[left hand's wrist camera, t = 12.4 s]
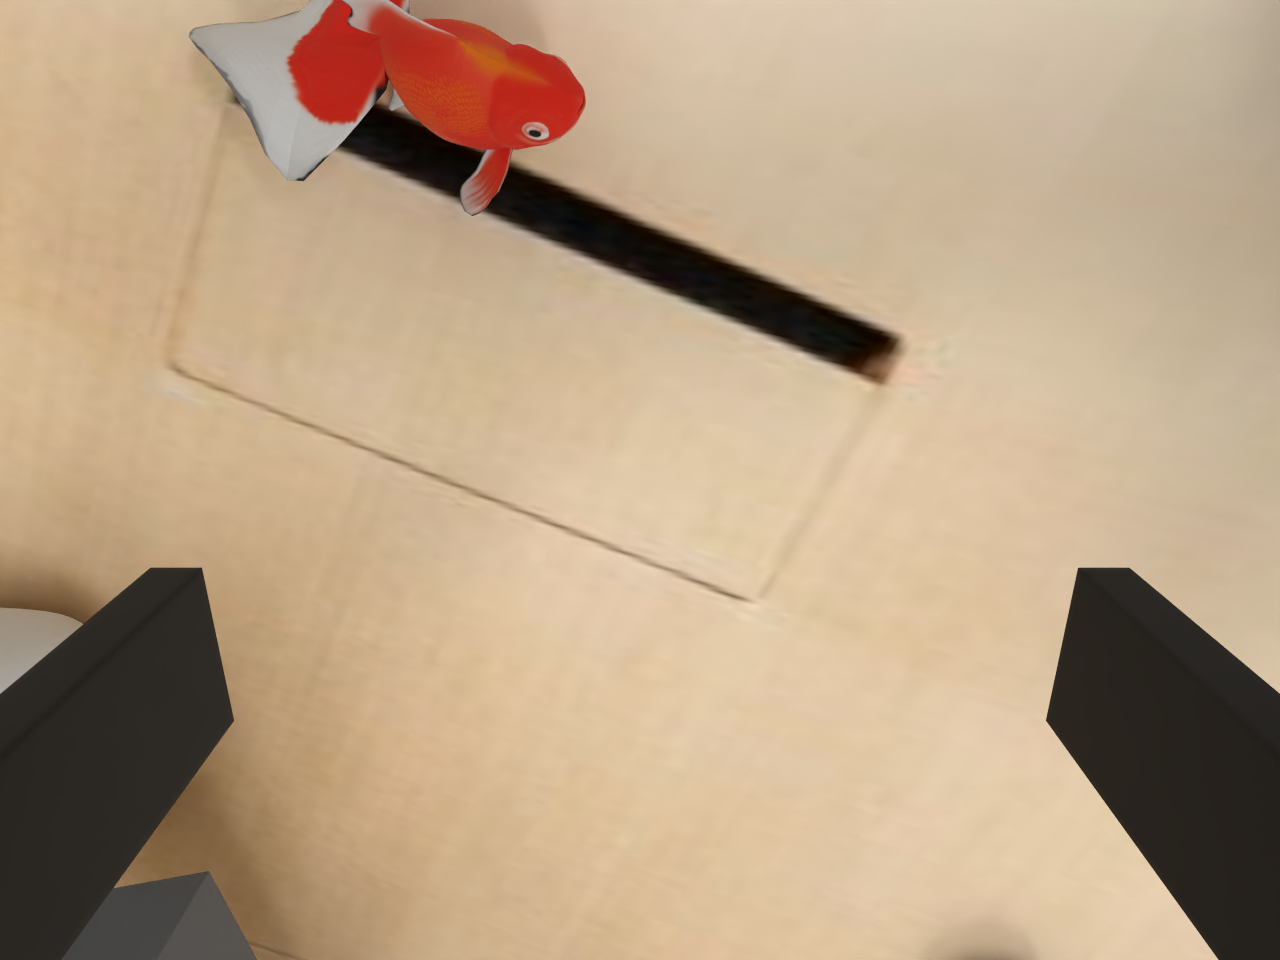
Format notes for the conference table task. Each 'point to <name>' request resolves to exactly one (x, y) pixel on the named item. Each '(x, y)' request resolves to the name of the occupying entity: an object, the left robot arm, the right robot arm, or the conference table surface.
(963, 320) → the conference table surface
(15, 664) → the projector
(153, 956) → the bar
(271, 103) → the fish
